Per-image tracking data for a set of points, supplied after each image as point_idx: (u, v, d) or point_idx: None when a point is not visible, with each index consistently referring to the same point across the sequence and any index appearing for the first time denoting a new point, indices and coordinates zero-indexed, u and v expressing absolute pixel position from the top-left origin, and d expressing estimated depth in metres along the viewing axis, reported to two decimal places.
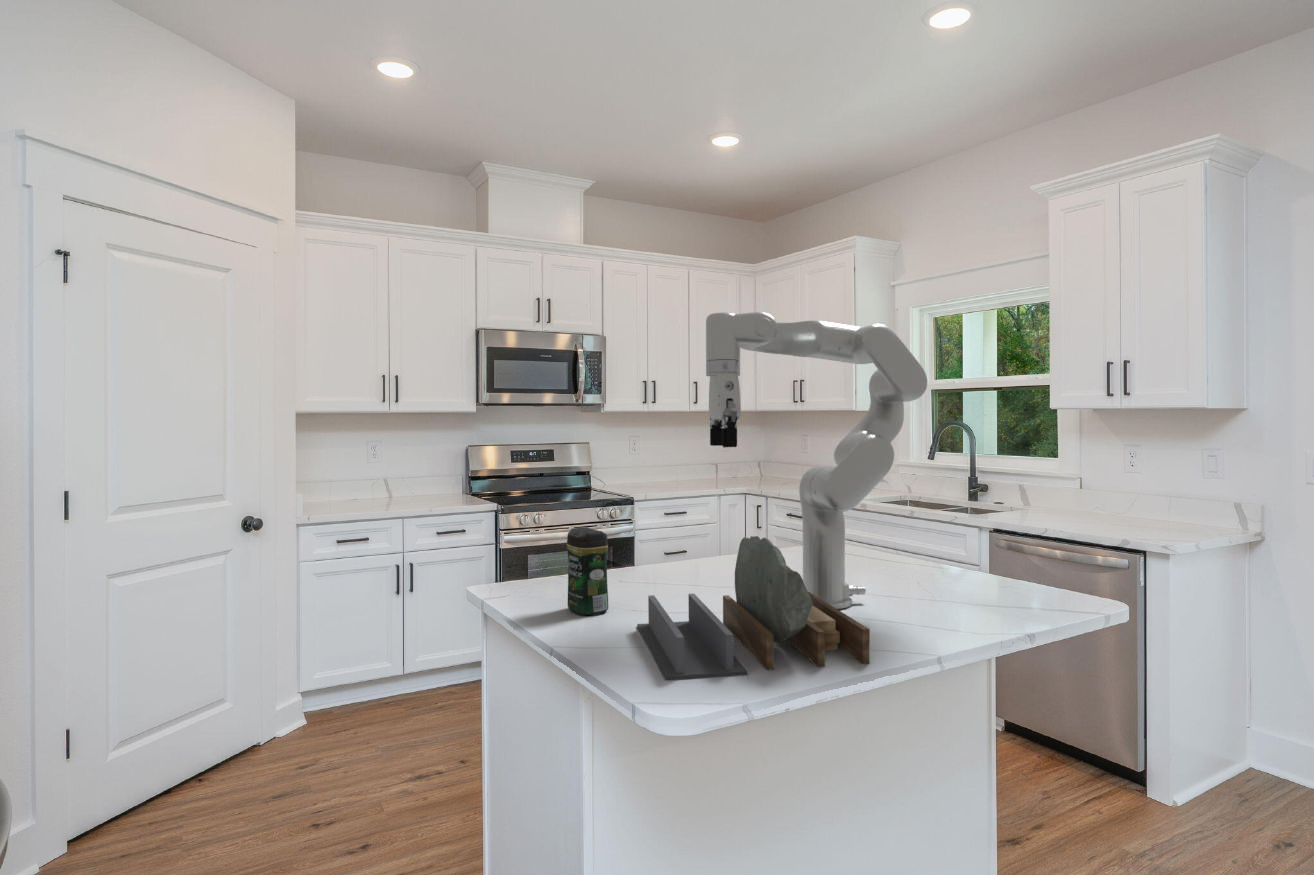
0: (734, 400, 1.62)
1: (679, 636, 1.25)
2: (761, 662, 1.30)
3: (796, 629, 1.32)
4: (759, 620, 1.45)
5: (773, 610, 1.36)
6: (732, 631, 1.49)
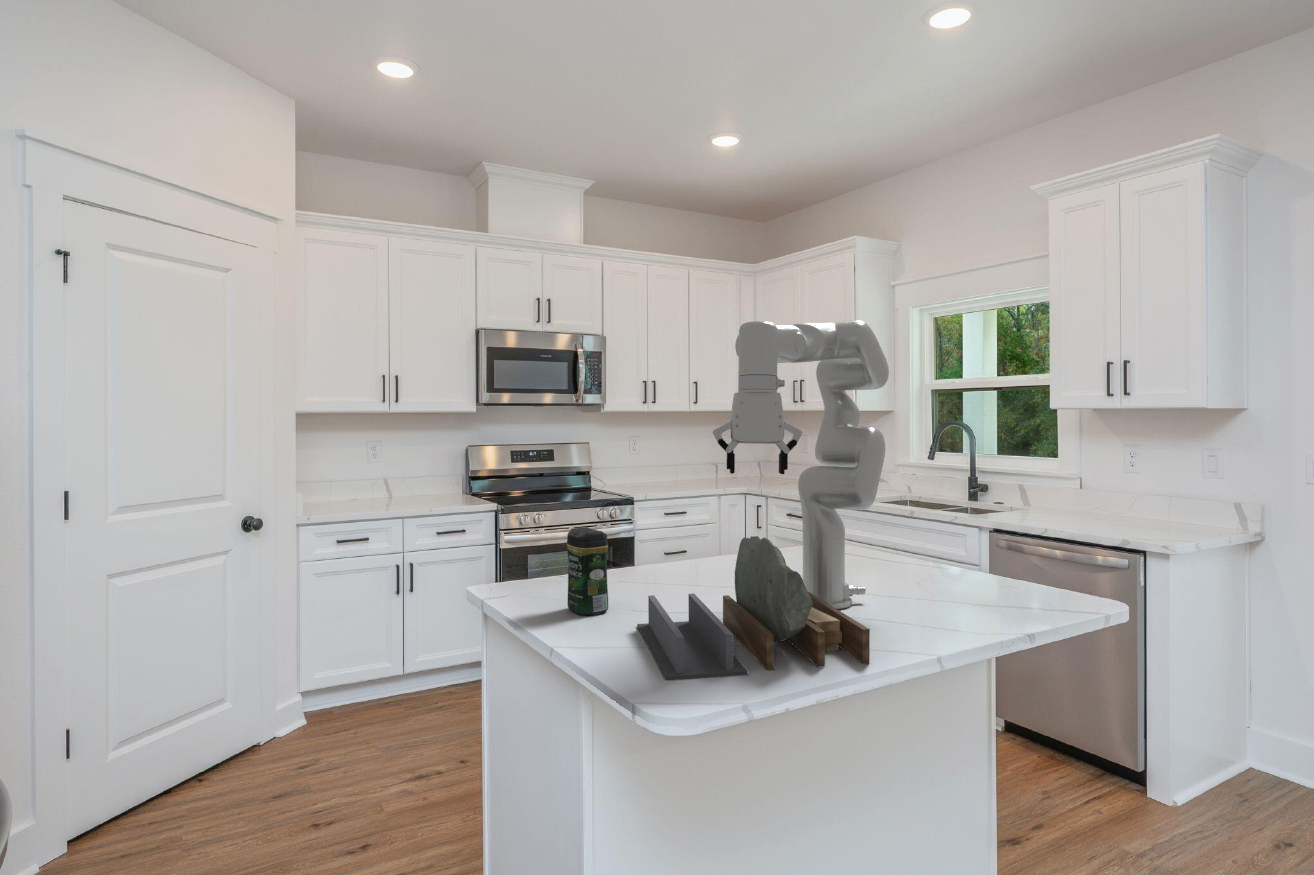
0: None
1: (679, 636, 1.25)
2: (761, 662, 1.30)
3: (796, 629, 1.32)
4: (759, 620, 1.45)
5: (773, 610, 1.36)
6: (732, 631, 1.49)
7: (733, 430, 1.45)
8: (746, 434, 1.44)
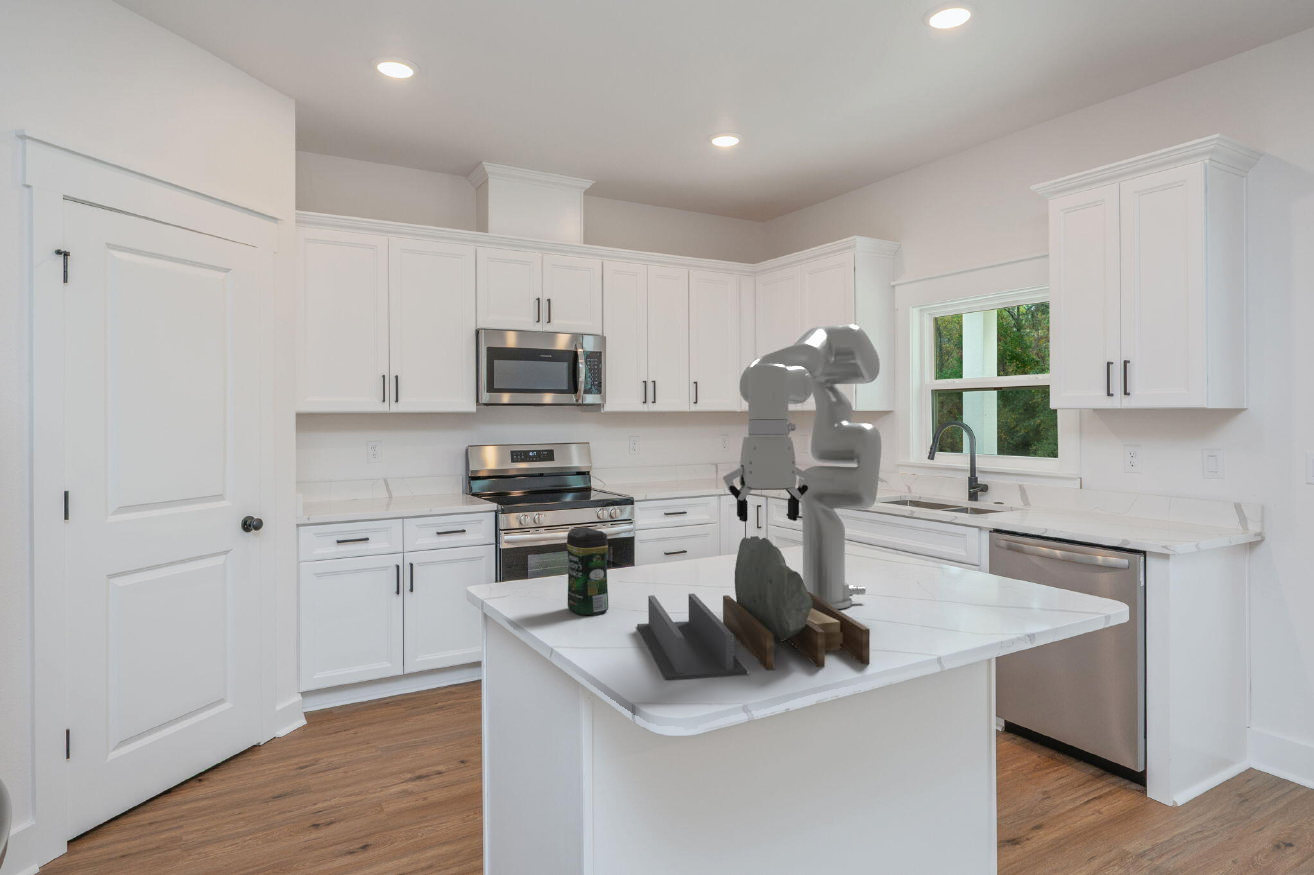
0: None
1: (679, 636, 1.25)
2: (761, 662, 1.30)
3: (796, 629, 1.32)
4: (759, 620, 1.45)
5: (773, 610, 1.36)
6: (732, 631, 1.49)
7: (746, 477, 1.39)
8: (760, 481, 1.39)
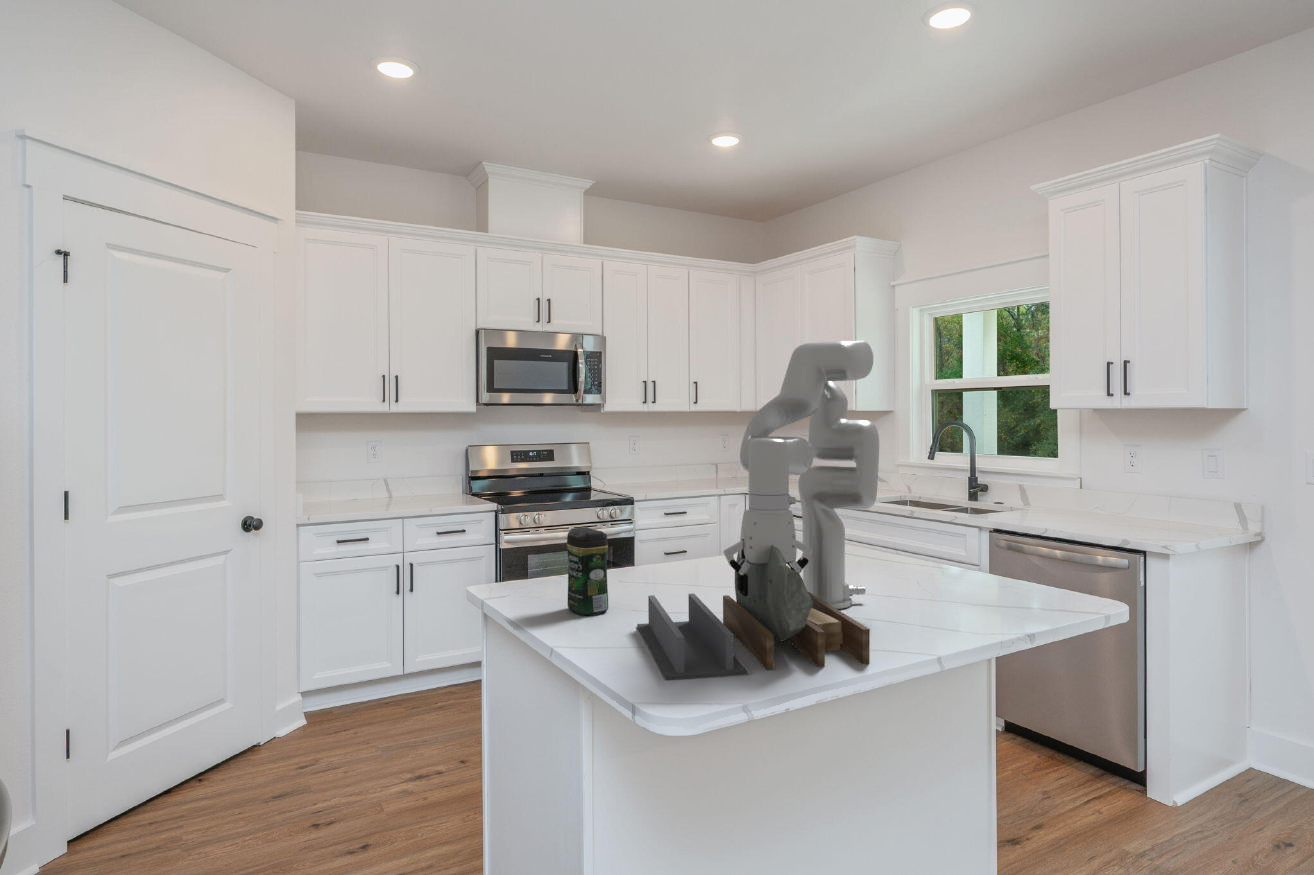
0: None
1: (679, 636, 1.25)
2: (761, 662, 1.30)
3: (796, 629, 1.32)
4: (759, 620, 1.45)
5: (773, 610, 1.36)
6: (732, 631, 1.49)
7: (747, 552, 1.39)
8: (760, 556, 1.40)
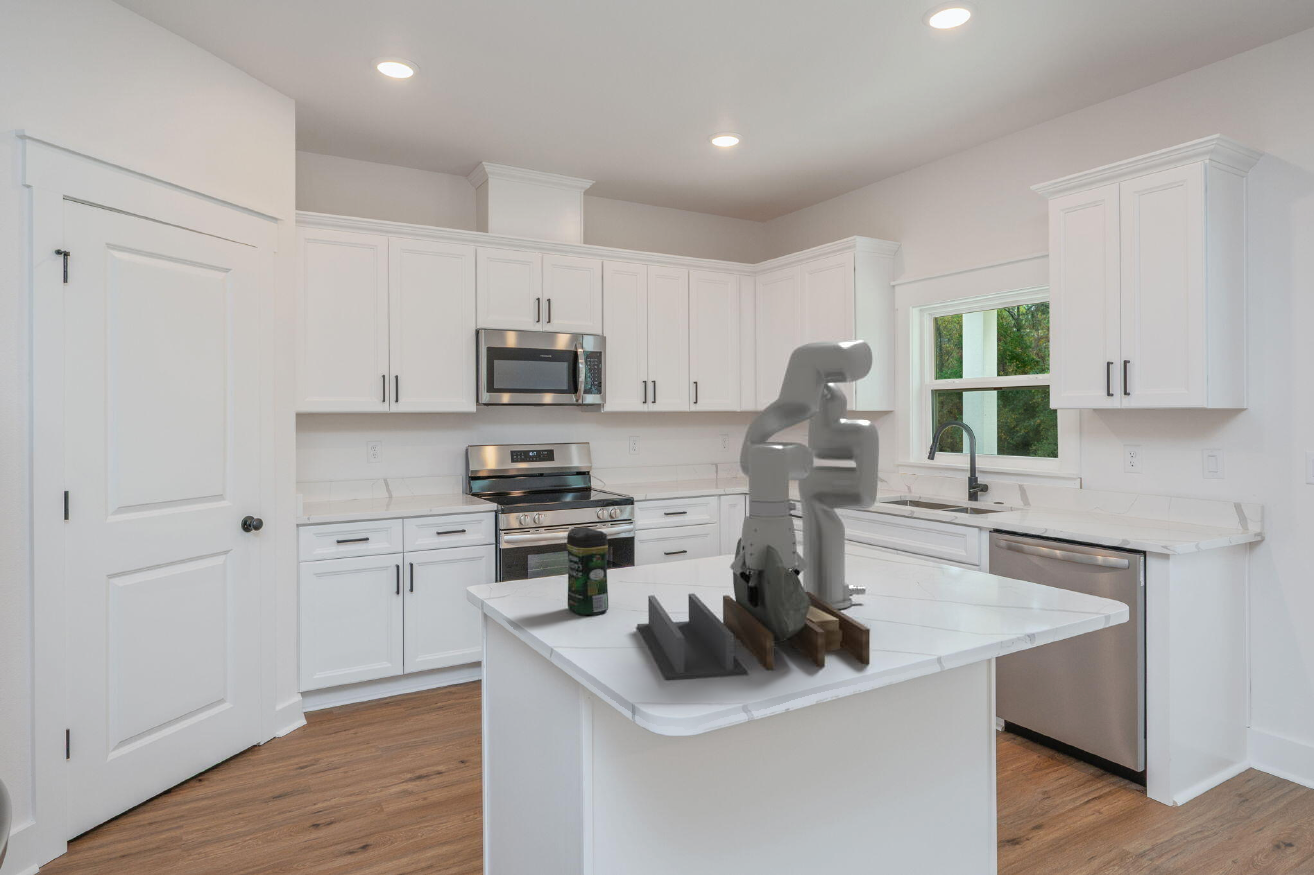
0: None
1: (679, 636, 1.25)
2: (761, 662, 1.30)
3: (795, 629, 1.32)
4: (759, 620, 1.45)
5: (772, 611, 1.36)
6: (732, 631, 1.49)
7: (747, 558, 1.40)
8: (760, 562, 1.40)
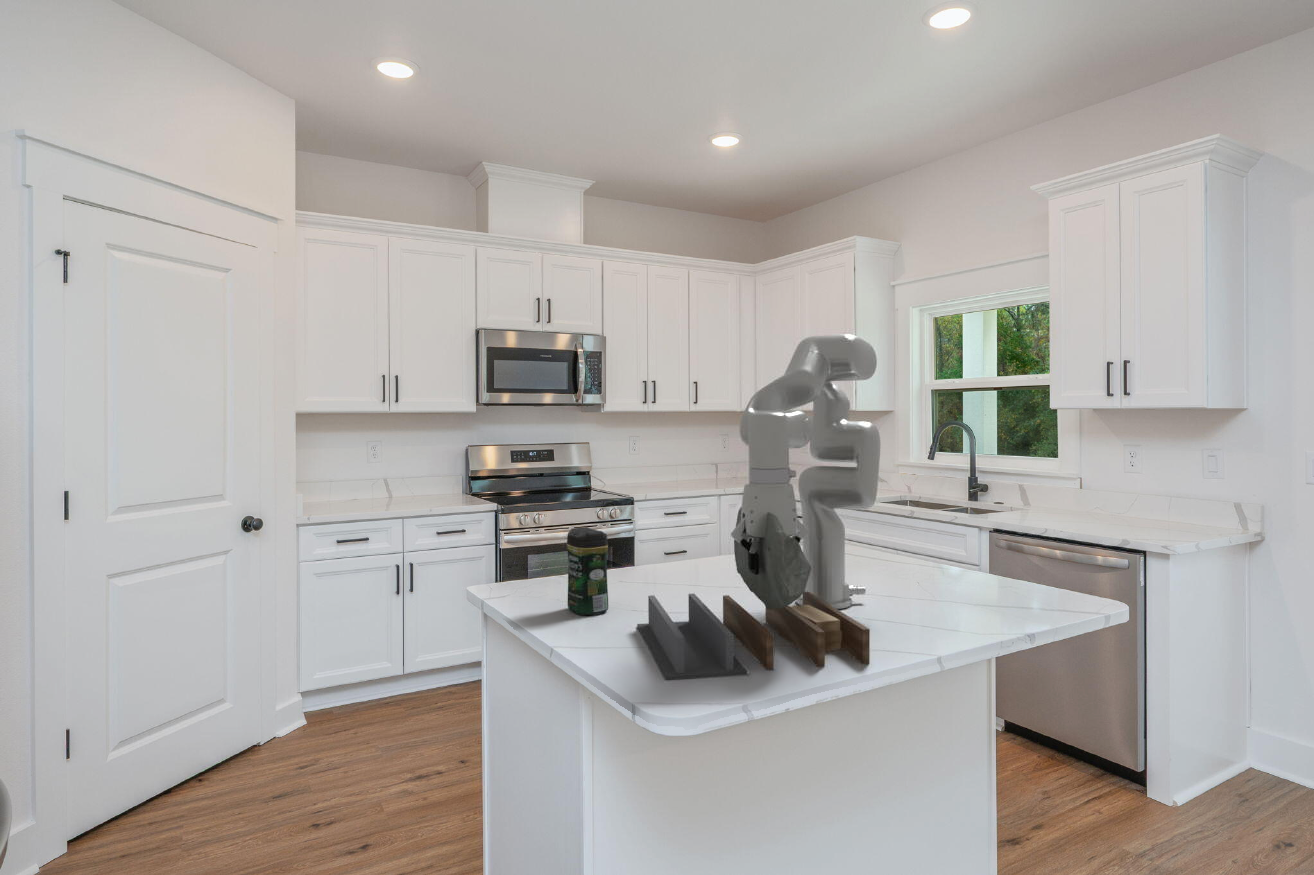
0: None
1: (679, 636, 1.25)
2: (761, 662, 1.30)
3: (796, 595, 1.32)
4: (760, 587, 1.45)
5: (772, 577, 1.37)
6: (732, 631, 1.49)
7: (748, 526, 1.40)
8: (761, 529, 1.40)
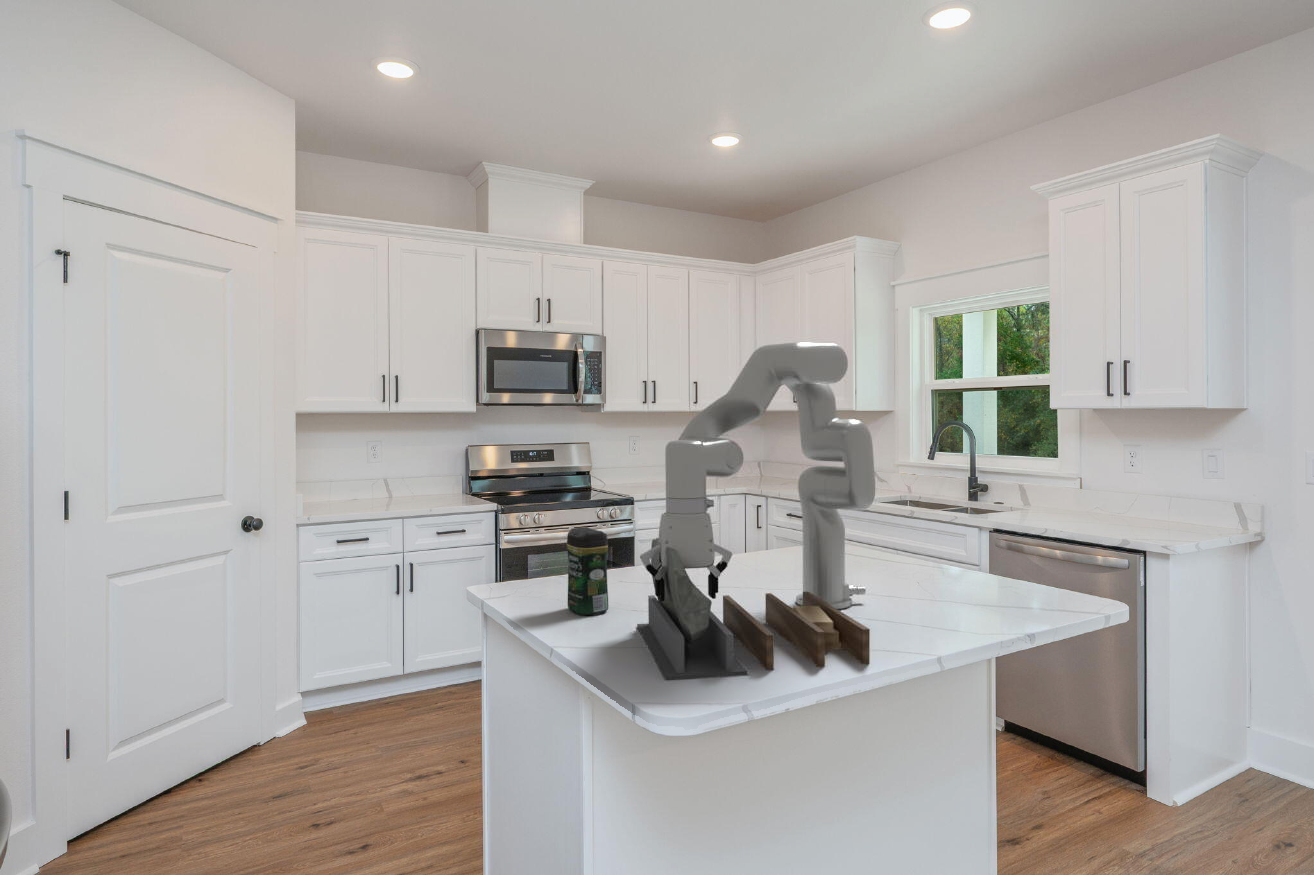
0: None
1: (679, 636, 1.25)
2: (761, 662, 1.30)
3: (698, 631, 1.29)
4: (675, 622, 1.42)
5: None
6: (732, 631, 1.49)
7: (663, 556, 1.37)
8: None
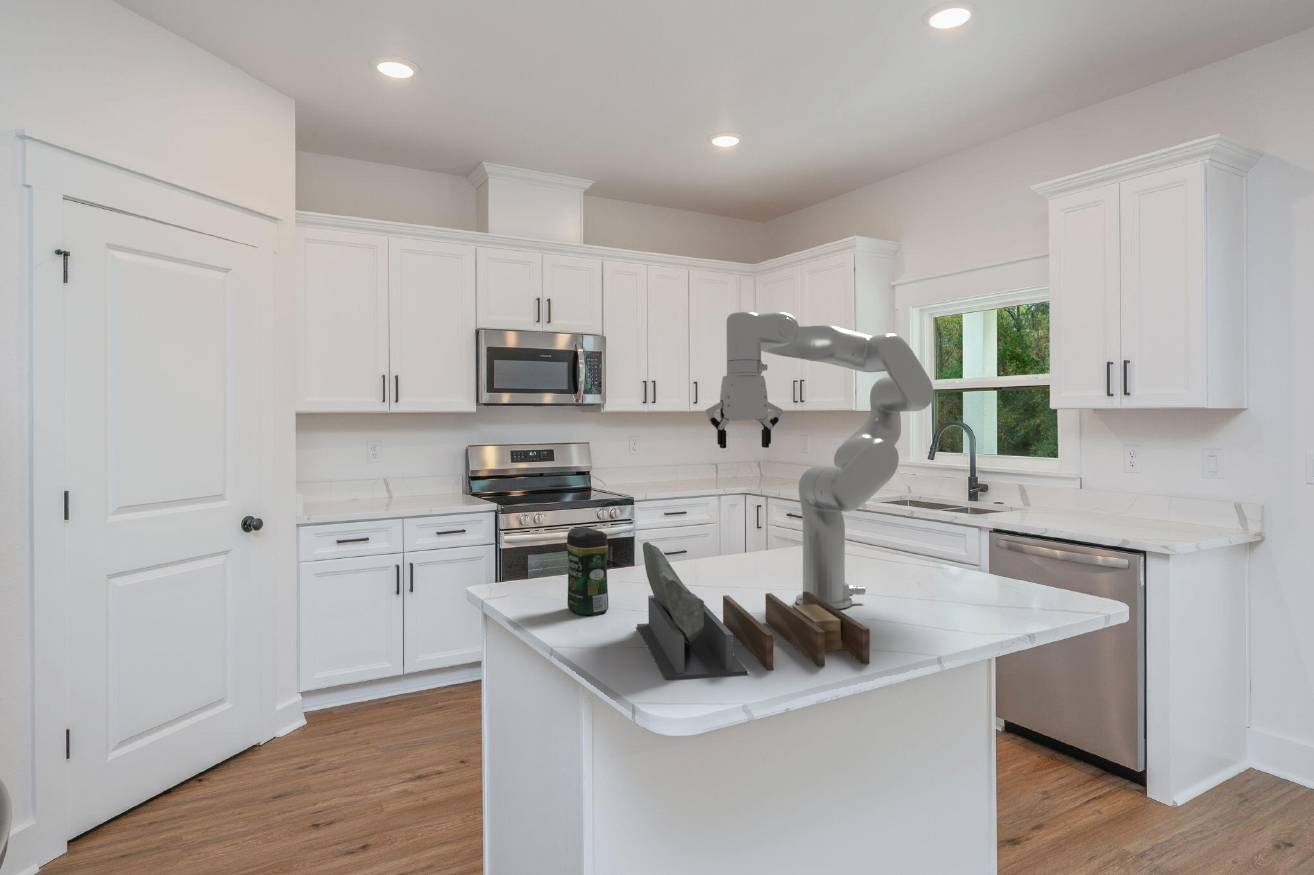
0: None
1: (679, 636, 1.25)
2: (761, 662, 1.30)
3: (695, 633, 1.29)
4: None
5: None
6: (732, 631, 1.49)
7: (725, 409, 1.62)
8: (736, 413, 1.62)
